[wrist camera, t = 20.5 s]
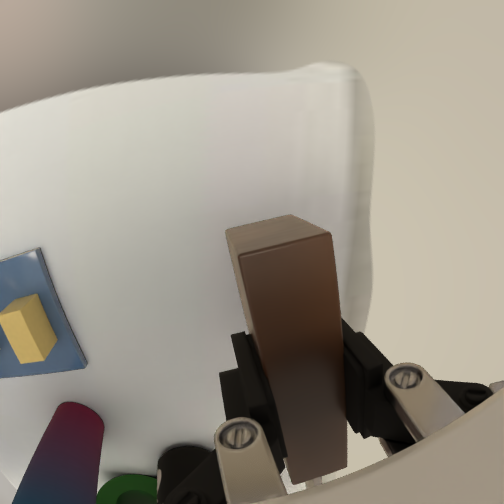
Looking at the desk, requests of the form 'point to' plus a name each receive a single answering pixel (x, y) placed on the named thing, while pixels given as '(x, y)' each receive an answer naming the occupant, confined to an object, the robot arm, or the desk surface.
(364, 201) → the desk surface
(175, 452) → the beverage can
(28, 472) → the cup
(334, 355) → the knife
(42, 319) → the butter pat
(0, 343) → the butter plate
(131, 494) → the tape dispenser
